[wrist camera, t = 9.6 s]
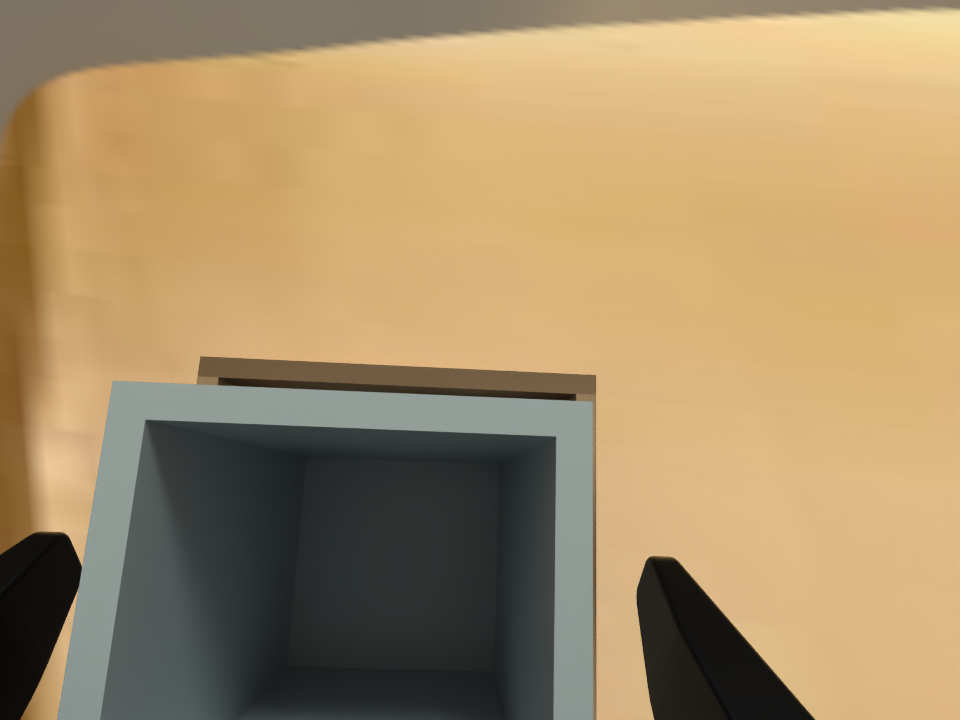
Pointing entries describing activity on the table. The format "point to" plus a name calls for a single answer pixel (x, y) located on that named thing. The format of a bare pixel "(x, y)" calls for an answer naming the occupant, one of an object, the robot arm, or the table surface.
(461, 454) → the grey crate
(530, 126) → the table surface
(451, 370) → the walnut crate
